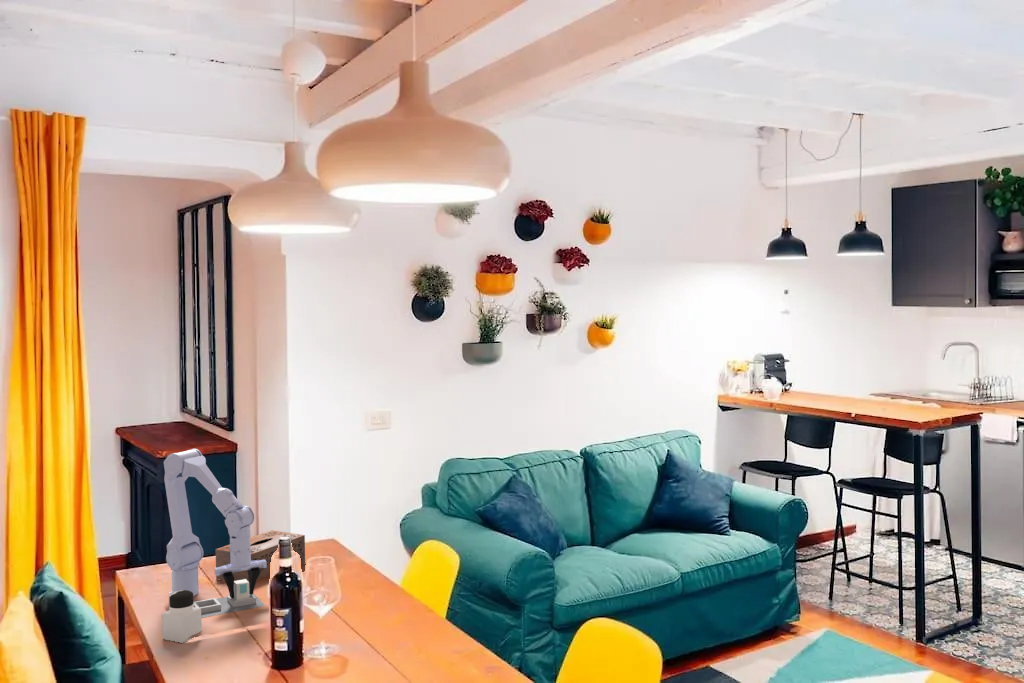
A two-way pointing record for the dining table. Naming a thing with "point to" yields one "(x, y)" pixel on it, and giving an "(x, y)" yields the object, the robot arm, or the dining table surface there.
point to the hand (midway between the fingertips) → (241, 595)
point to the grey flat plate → (226, 605)
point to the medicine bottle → (181, 618)
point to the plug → (241, 590)
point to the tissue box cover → (261, 552)
